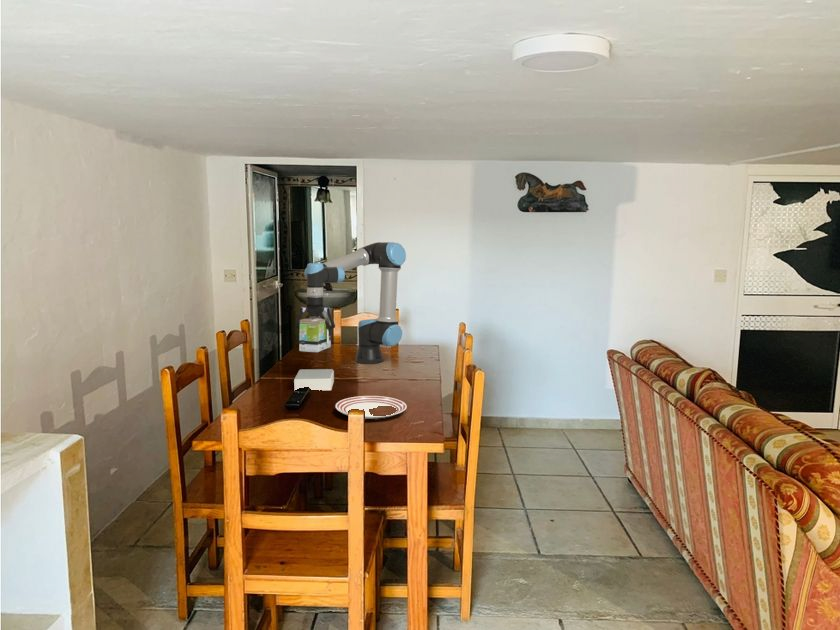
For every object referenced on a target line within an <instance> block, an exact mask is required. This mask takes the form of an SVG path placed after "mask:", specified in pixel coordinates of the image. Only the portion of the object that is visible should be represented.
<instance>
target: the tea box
mask: <svg viewBox="0 0 840 630" xmlns="http://www.w3.org/2000/svg"><path fill="white" fill-rule="evenodd" d="M324 317H325V318H326V320H327V321H328V323H329V324H330V326H332V325H331V322H330V320H329V317H326V316H324ZM299 326H300V334H299V333H298V336H299V339H298V341H299V342H298V343H299V348H298V349H299V352H307V353H319V352H321V351H323V350H327V349H330V348H331V346H332V345H331V343H332V342H331V339H332V338H331V337H332V335H331V336H329V343H327V329H328V327H327V326H326V324H325V319H322V318H321V317H320V316H318V317H317V316H310V317H309V318H308V319H305V318H303V319H302V318H301V320H300V323H299Z"/></svg>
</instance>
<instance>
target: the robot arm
mask: <svg viewBox="0 0 840 630" xmlns="http://www.w3.org/2000/svg"><path fill="white" fill-rule="evenodd" d="M406 260H407V253H406V250H405V248H404V247H403V245H402V244H400V243H398V242H394V241H393V242H391V241H389V242H380V241H379V242H378V241H377V242H373V243H370V244H368V245H365V246H363V247H359V248H357V250H356V251H354V252H352V253H348V254H345V255H343V256H340V257H337V258H334V259H331V260H329V261H326V262H322V263H321V262H320V263H319V262H309V263H308V264H307V265H306V268H305V269H304V273H303V274H304V277H305V280H306V295H307V297H306V307H303V306H300V307H299V314H298V317H297V319H296V322H295V325H294V328H296V329H298V335H299V334H300V320H302V317H303V314H304V313H305V311H306V312H307V314H306V316H305V318H304V319H308V318H310V317H321V318H322V319H325V324H326V326H327V327H328V329H327V343H329V336H331V337H332V330H333V329H335V328H336V324H335V320H334V318H333V316H332V313H331V307H325V306H324V284H339V283H342V282H344V281H345V279H346V278H345V275H346V271H349V270H353V269H354V268H357V267H359V266H364V267H366V266H369V265H378V269H379V270H380V272H381V273H380V292H379V294H380V295H379V314H378V315H379V317H378V318H373V319H372V318H370V319H362V320H360V321H358V326H357V328H358V329H357V330H358V331H357V334H358V336H357V337H358V347H357V351H356V355H355V359H354V360H355V362H356V363H357V364H365V365H367V364H368V365H372V364H381V363H383V362H384V356H383V353H382V349H381V345H382V346H385V347H395V346H396V345H398V344H399V343H400V341H401V340H402V337H403V328H402V327H401V326H400V325H399V320H398V319H397V316H396V315H397V314H396V313H397V298H398V297H397V295H398V274H399V273H398V272H399V271H400V270H401V269H402V265H404V263H405V262H406ZM324 311H325V313H326V314H327V316H328V317H327V318H329V320H330V322H331V326H330V324H329V323H328V321H327V320H326V318H325V317H326V316H325V315H324V313H323V312H324Z"/></svg>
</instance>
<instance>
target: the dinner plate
mask: <svg viewBox="0 0 840 630" xmlns="http://www.w3.org/2000/svg"><path fill="white" fill-rule="evenodd" d="M334 406H335V407H334V408H335V409H336V410H337V411H338V412H340V413H341V414H343V415H346V416H348V411H349V410H351V409H359V410H363V409H364V411H365V419H364V420H366V419H375V420H379V419H378V418H383V419H387V418H389V417H393V416H395V415H398V414H401V413H403V412H405V411H406V409H407V407H408V406H407V404H406V403H405V402H404V401H402V400H400V399H397V398H395V397H394V398H393V397H390V396H383V395H381V396H380V395H359V396H353V397H352V396H351V397H348V398H344V399H341V400H339V401H337V402H336V403H335V405H334ZM378 406H392V407H394V408H396V410H397V411H396V412H395V413H393V414H391V415H386V416H373V414H372V415H371V414H370V412H369V409H373V408H377V407H378ZM386 417H387V418H386Z"/></svg>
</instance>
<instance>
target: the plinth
mask: <svg viewBox="0 0 840 630" xmlns="http://www.w3.org/2000/svg"><path fill="white" fill-rule="evenodd" d="M293 383H294V391H295V390H297V389H299V388H304V387H309V388H310V389H311V390H319V391H320V390H322V392H323V391H332V389H333V385H334V383H335V371H334V369H333V368H331V369H330V368H329V369H328V368H326V369H325V368H324V369H323V368H322V369H321V368H319V369H316V368H315V369H308V368H307V369H303V368H302V369H299V370H298V372H297V374H296V375H295V377H294V380H293Z"/></svg>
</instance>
